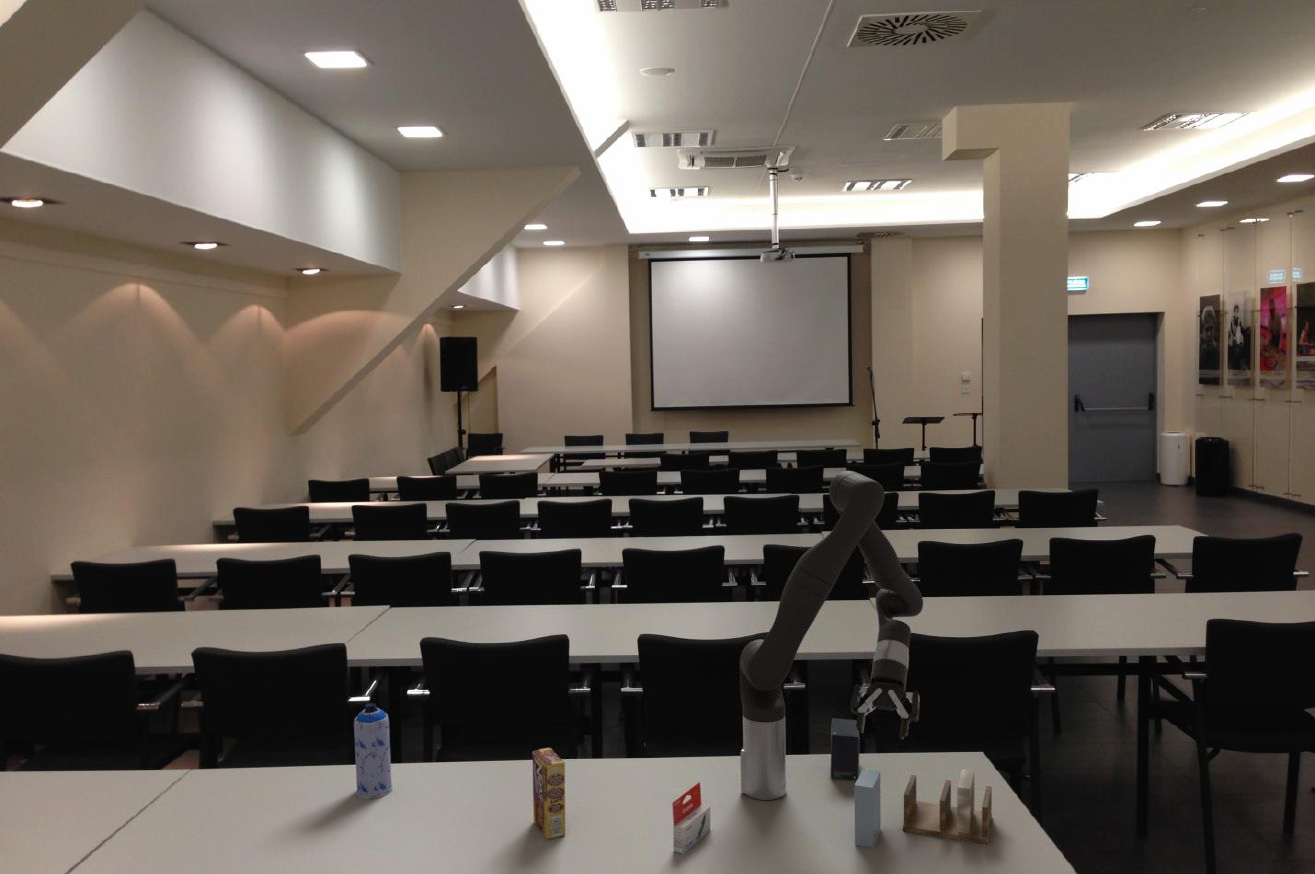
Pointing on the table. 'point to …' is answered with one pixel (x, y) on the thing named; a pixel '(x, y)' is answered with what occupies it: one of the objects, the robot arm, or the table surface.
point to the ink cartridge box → (689, 820)
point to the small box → (844, 749)
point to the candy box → (549, 792)
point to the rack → (949, 812)
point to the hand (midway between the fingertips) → (881, 735)
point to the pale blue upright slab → (867, 808)
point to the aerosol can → (372, 753)
